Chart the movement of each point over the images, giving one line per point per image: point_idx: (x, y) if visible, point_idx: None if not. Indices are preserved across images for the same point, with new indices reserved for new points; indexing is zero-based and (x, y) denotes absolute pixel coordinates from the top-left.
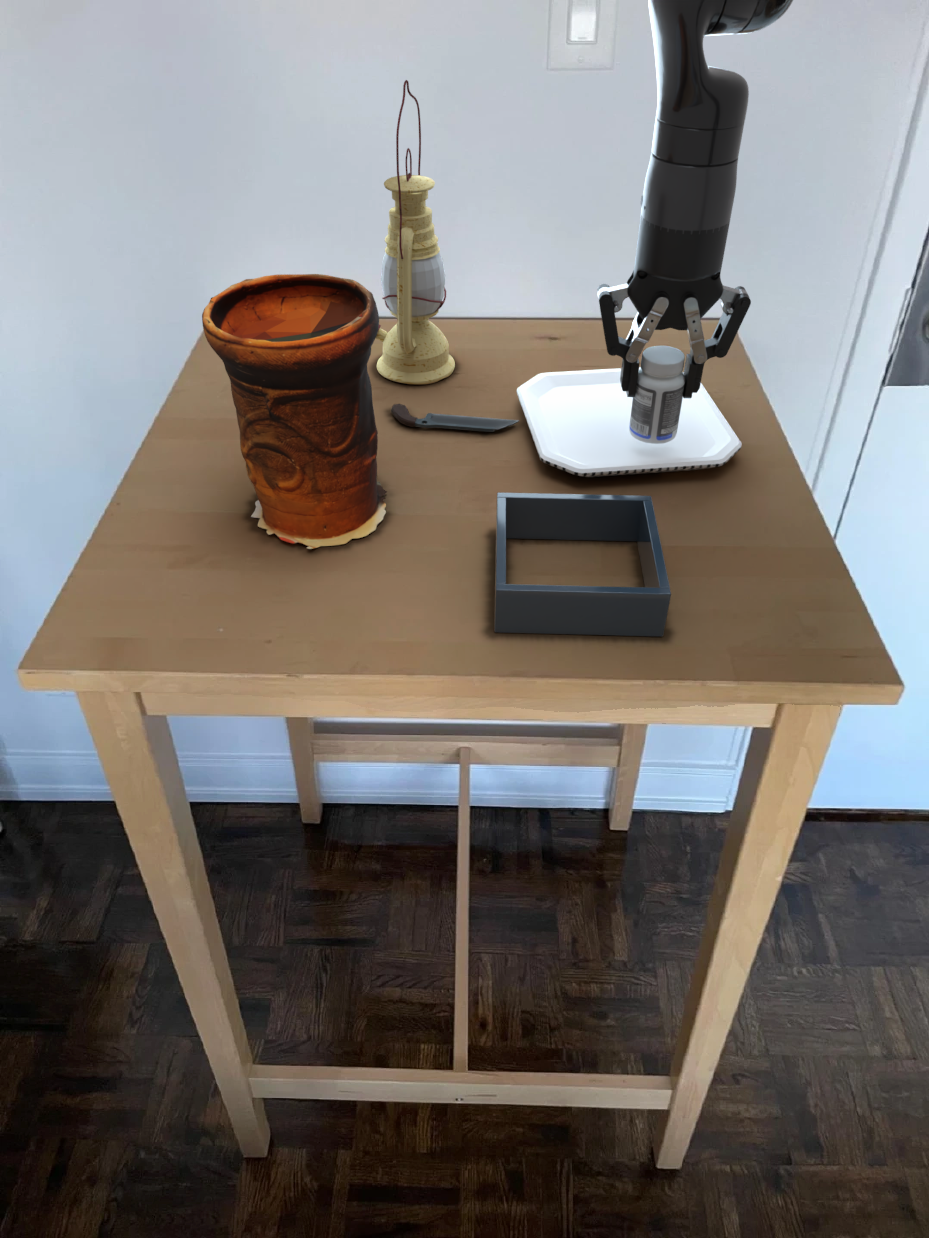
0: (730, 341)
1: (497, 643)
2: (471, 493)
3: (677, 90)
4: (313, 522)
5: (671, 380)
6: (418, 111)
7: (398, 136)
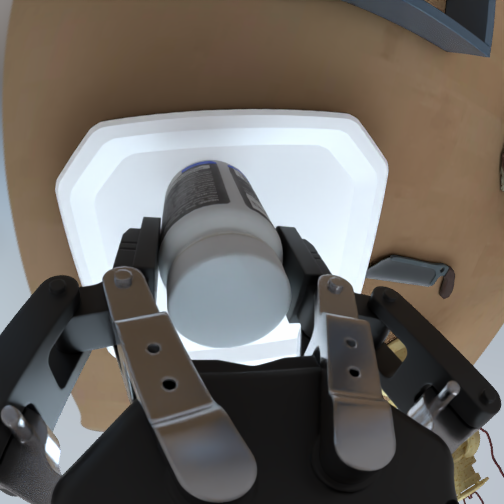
0: (25, 313)
1: None
2: (448, 135)
3: None
4: None
5: (207, 231)
6: None
7: None
